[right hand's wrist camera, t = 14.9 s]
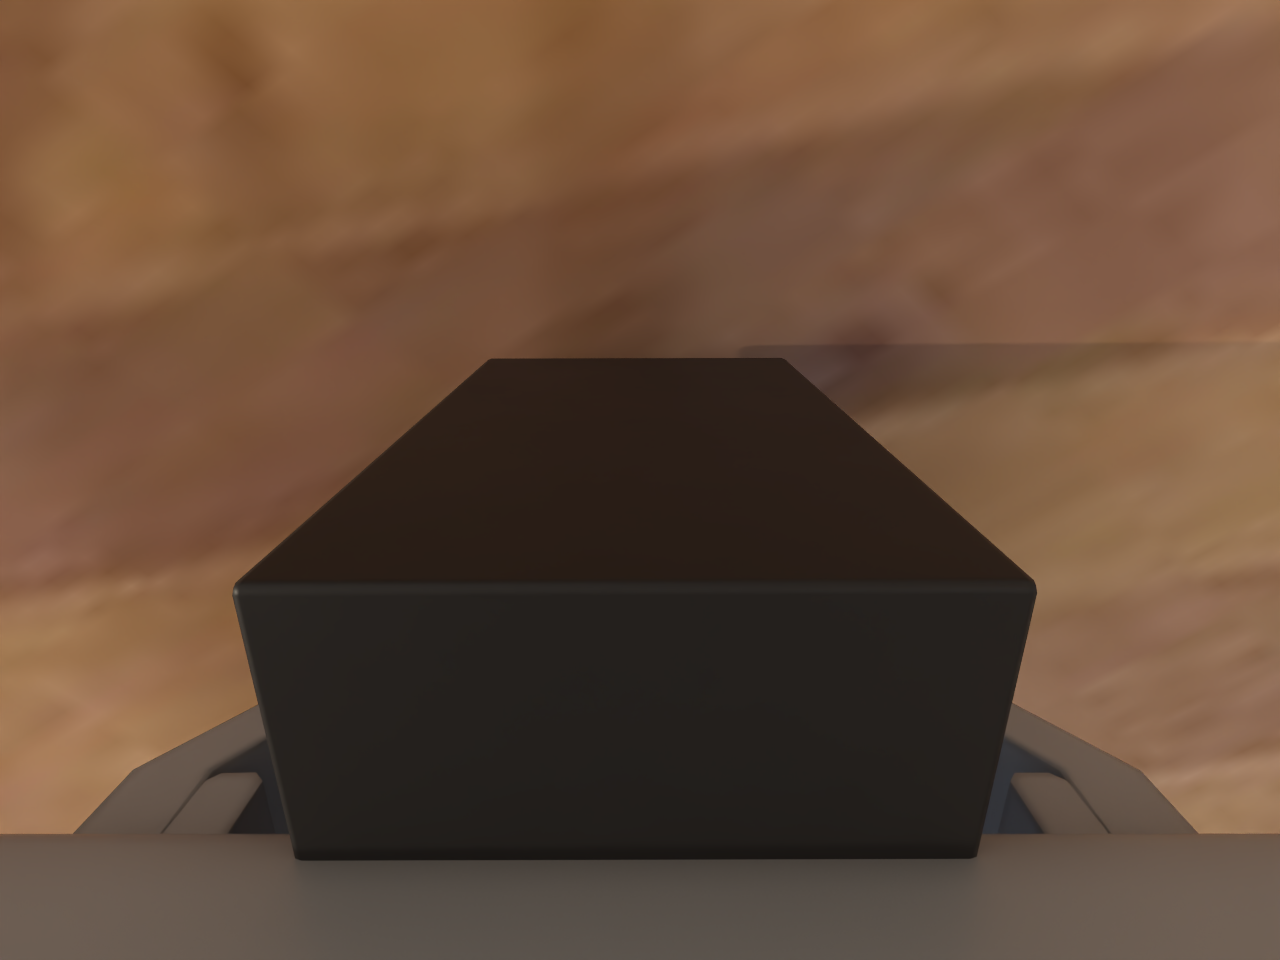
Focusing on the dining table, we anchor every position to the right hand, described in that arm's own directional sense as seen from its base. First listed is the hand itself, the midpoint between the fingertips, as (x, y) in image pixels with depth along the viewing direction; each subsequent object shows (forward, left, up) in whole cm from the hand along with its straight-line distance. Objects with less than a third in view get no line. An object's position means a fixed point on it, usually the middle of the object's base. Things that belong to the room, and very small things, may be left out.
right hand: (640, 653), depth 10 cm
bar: (-10, -2, -3) cm, 10 cm away
